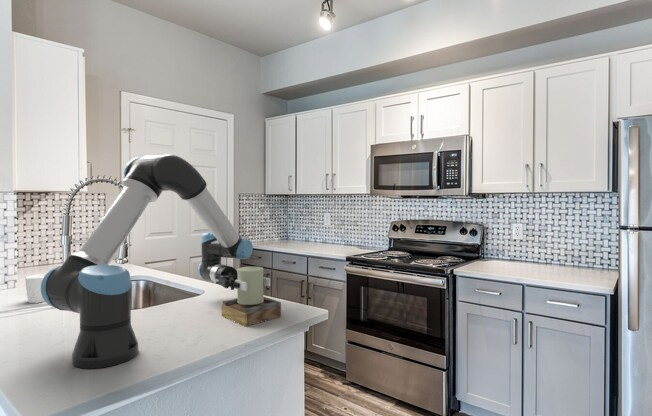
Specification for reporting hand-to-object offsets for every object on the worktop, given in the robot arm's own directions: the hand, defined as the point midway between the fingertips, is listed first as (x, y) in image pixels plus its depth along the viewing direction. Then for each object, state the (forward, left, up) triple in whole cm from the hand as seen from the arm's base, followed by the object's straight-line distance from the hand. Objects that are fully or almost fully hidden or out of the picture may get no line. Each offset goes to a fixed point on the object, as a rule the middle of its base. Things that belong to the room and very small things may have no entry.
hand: (258, 284), depth 133 cm
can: (0, +5, -7) cm, 8 cm away
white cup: (-50, +81, -12) cm, 96 cm away
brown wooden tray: (0, +5, -12) cm, 13 cm away
